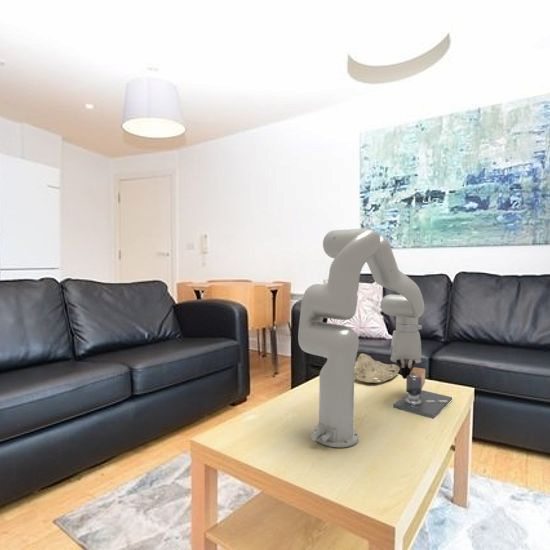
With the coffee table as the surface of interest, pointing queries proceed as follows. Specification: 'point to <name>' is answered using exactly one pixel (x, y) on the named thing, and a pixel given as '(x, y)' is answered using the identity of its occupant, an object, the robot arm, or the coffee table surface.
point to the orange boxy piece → (415, 381)
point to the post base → (423, 403)
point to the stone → (373, 370)
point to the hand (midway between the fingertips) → (405, 377)
